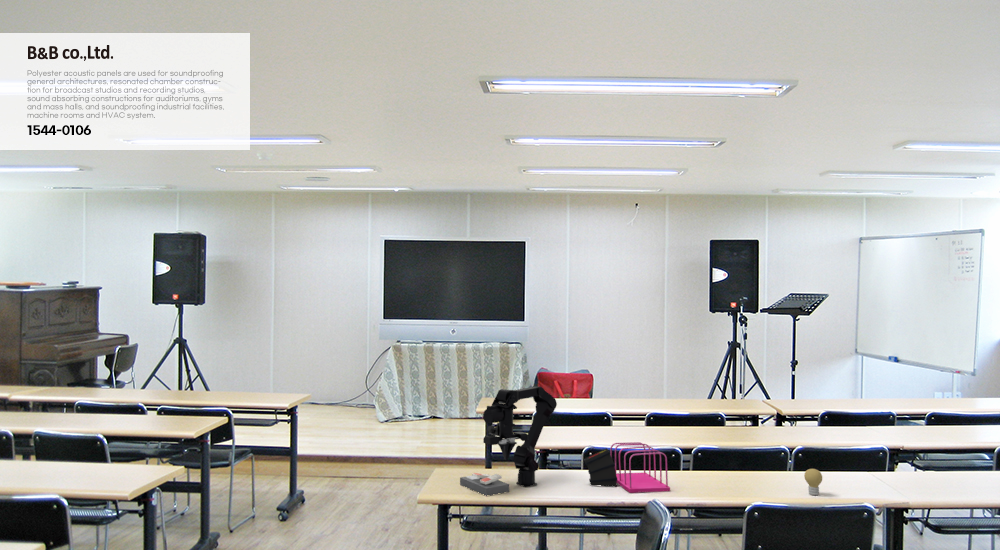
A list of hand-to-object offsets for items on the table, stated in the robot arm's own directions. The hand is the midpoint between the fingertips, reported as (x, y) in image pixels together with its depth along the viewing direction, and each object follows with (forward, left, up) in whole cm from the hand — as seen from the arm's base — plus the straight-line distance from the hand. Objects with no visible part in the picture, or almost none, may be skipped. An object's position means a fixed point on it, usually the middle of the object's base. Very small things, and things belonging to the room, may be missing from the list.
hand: (505, 459), depth 252 cm
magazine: (-37, +16, -12) cm, 42 cm away
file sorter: (-52, +23, -12) cm, 58 cm away
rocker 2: (+6, -2, -7) cm, 10 cm away
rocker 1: (+6, -8, -7) cm, 12 cm away
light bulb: (-98, +73, -12) cm, 123 cm away
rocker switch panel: (+6, -7, -12) cm, 15 cm away
